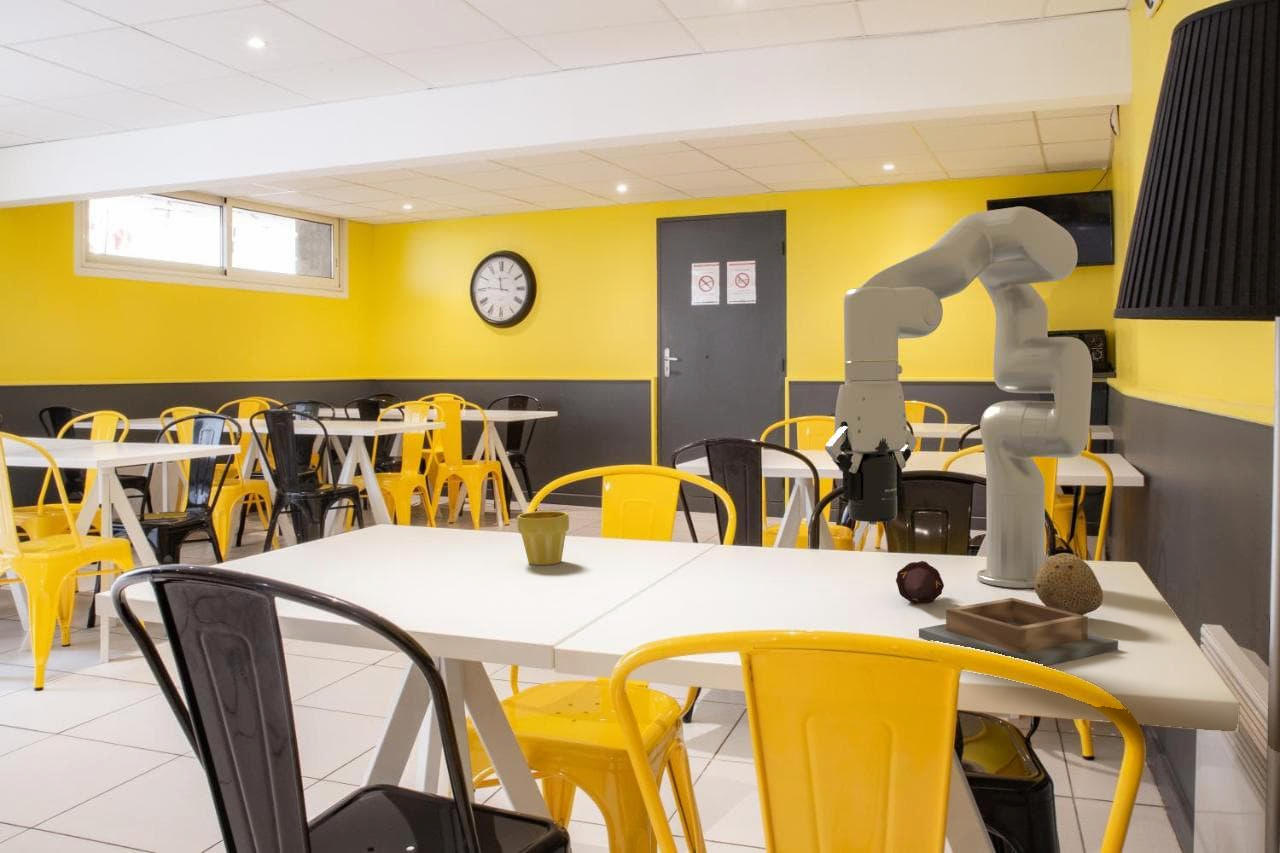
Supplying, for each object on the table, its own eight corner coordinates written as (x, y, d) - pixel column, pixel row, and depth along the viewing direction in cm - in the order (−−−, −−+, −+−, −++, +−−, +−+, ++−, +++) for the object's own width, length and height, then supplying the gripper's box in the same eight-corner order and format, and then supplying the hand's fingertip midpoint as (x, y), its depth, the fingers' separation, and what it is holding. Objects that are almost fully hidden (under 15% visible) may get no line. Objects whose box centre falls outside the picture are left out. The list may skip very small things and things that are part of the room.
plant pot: (509, 566, 194) (507, 517, 194) (533, 556, 204) (531, 509, 203) (556, 568, 191) (554, 519, 190) (578, 558, 200) (577, 511, 200)
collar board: (1010, 619, 146) (1010, 592, 145) (1117, 649, 130) (1118, 618, 129) (918, 637, 138) (918, 607, 137) (1021, 671, 122) (1021, 637, 121)
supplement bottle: (898, 523, 137) (897, 438, 137) (849, 522, 139) (847, 438, 138) (896, 515, 144) (895, 434, 143) (849, 515, 145) (847, 435, 145)
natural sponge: (1022, 613, 149) (1022, 548, 149) (1077, 610, 150) (1078, 546, 150) (1052, 628, 140) (1052, 560, 140) (1111, 626, 141) (1112, 557, 141)
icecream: (949, 574, 149) (947, 563, 163) (900, 560, 151) (903, 551, 165) (937, 617, 149) (936, 603, 164) (889, 603, 151) (892, 590, 166)
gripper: (900, 372, 147) (901, 490, 148) (806, 375, 139) (808, 499, 141) (936, 372, 141) (937, 495, 142) (839, 375, 133) (841, 505, 134)
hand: (872, 496), depth 141 cm, fingers closed on supplement bottle, 6 cm apart
